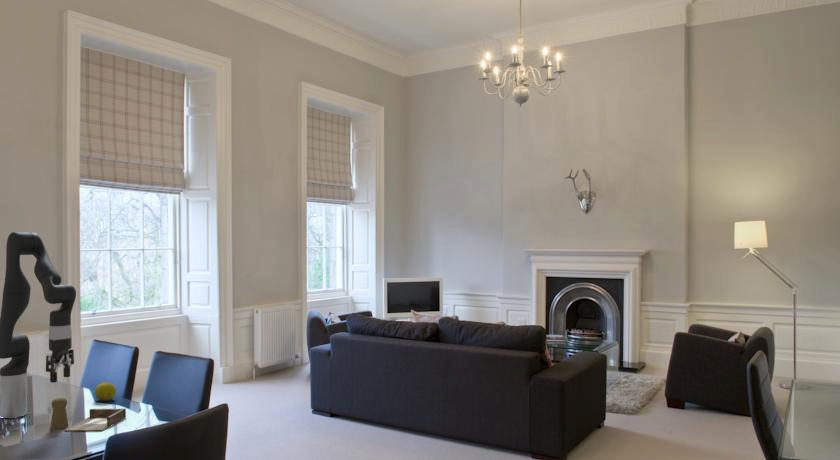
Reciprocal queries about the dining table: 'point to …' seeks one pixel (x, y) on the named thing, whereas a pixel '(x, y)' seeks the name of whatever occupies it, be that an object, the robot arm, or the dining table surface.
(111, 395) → the lemon
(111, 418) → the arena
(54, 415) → the olive double-lobed piece
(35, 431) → the dining table surface
